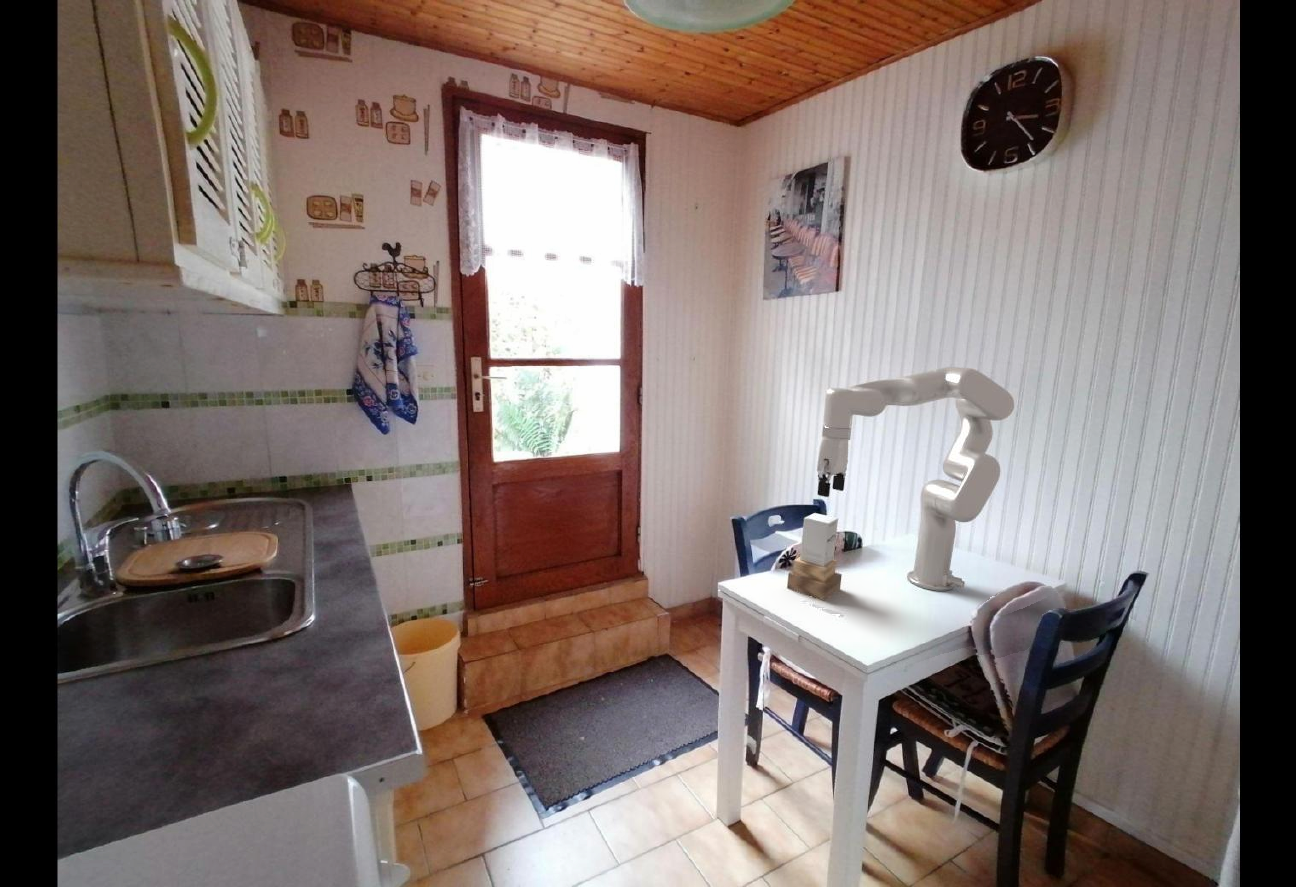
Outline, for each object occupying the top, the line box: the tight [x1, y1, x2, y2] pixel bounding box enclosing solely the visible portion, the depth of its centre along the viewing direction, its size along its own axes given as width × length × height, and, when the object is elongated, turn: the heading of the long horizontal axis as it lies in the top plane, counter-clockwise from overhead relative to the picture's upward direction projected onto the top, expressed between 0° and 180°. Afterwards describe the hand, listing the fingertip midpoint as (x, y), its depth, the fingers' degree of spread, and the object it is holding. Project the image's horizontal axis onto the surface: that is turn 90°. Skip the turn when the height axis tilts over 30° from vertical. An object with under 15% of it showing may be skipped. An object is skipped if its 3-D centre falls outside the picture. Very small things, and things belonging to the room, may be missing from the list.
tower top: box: [792, 556, 837, 583], centre depth 160 cm, size 9×9×4 cm
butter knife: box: [802, 600, 844, 618], centre depth 153 cm, size 1×24×3 cm
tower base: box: [786, 570, 842, 602], centre depth 161 cm, size 11×11×5 cm
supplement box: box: [799, 512, 839, 566], centre depth 159 cm, size 7×7×13 cm
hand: (830, 492), depth 158 cm, fingers open, 9 cm apart
